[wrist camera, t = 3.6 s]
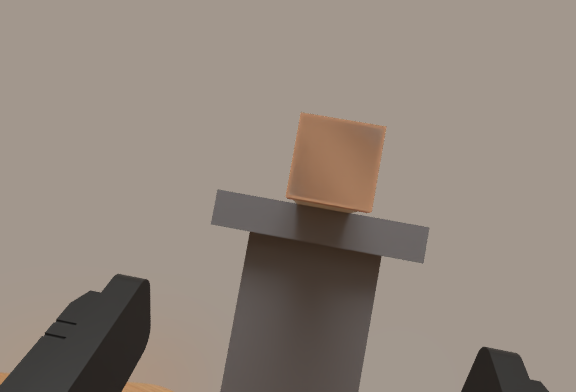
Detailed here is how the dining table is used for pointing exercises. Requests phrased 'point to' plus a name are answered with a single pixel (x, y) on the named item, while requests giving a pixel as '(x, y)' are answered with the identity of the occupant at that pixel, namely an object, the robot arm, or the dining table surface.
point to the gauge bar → (335, 163)
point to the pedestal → (306, 292)
